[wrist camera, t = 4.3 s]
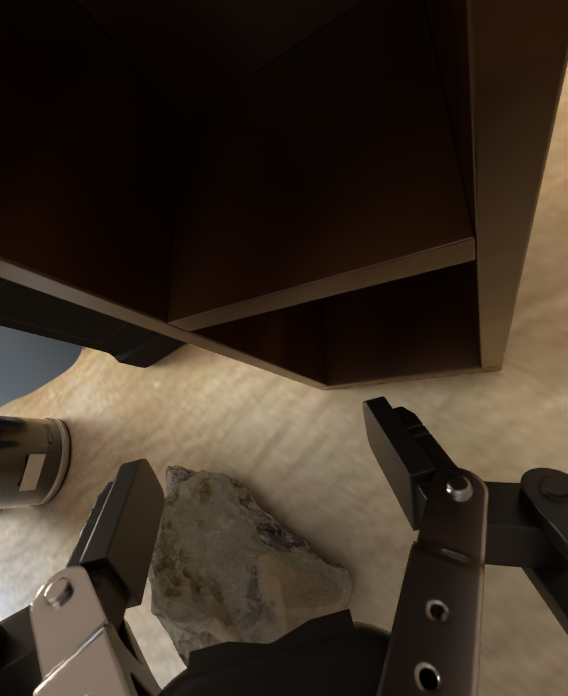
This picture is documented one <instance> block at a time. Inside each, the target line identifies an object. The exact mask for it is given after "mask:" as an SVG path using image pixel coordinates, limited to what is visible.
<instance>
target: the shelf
mask: <svg viewBox="0 0 568 696" xmlns="http://www.w3.org/2000/svg"><path fill="white" fill-rule="evenodd" d="M567 63H568V0H0V277H1V278H4V279H7V280H10V281H13V282H16V283H19V284H21V285H24V286H27V287H30V288H33V289H36V290H39V291H41V292H44V293H47V294H50V295H53V296H56V297H58V298H61V299H64V300H67V301H70V302H73V303H76V304H78V305H81V306H84V307H87V308H90V309H93V310H96V311H98V312H101V313H104V314H107V315H110V316H113V317H115V318H118V319H121V320H124V321H127V322H130V323H133V324H135V325H138V326H141V327H144V328H147V329H150V330H153V331H155V332H158V333H161V334H164V335H167V336H170V337H173V338H175V339H178V340H181V341H184V342H187V343H190V344H192V345H195V346H198V347H201V348H204V349H207V350H210V351H212V352H215V353H218V354H221V355H224V356H227V357H230V358H232V359H235V360H238V361H241V362H244V363H247V364H249V365H252V366H255V367H258V368H261V369H264V370H267V371H269V372H272V373H275V374H278V375H281V376H284V377H287V378H289V379H292V380H295V381H298V382H301V383H304V384H306V385H309V386H312V387H315V388H318V389H321V390H326V389H335V388H344V387H353V386H362V385H371V384H380V383H389V382H398V381H407V380H416V379H425V378H434V377H443V376H452V375H461V374H470V373H479V372H488V371H497V370H501V367H502V363H503V359H504V354H505V350H506V345H507V340H508V336H509V331H510V326H511V322H512V317H513V313H514V308H515V303H516V299H517V294H518V290H519V285H520V280H521V276H522V271H523V266H524V262H525V257H526V253H527V248H528V243H529V239H530V234H531V229H532V225H533V220H534V216H535V211H536V206H537V202H538V197H539V193H540V188H541V183H542V179H543V174H544V169H545V165H546V160H547V156H548V151H549V146H550V142H551V137H552V132H553V128H554V123H555V119H556V114H557V109H558V105H559V100H560V95H561V91H562V86H563V82H564V77H565V72H566V68H567Z"/></svg>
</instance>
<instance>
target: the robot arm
mask: <svg viewBox="0 0 568 696" xmlns="http://www.w3.org/2000/svg"><path fill="white" fill-rule="evenodd" d="M363 410H364V417H365V424H366V431H367V437H368V441H369V444H370V447H371V449H372V451H373V453H374V455H375V457H376V459H377V461H378V463H379V465H380V467H381V469H382V471H383V473H384V475H385V477H386V478H387V480H388V482H389V484H390V486H391V488H392V490H393V492H394V494H395V496H396V498H397V500H398V502H399V504H400V506H401V507H402V509H403V511H404V513H405V515H406V517H407V519H408V521H409V523H410V525H411V527H412V529H413V531H416V530H420V531H419V535H418V539H417V541H414V542H413V544H412V547H411V550H410V554H409V559H408V563H407V567H406V571H405V576H404V580H403V584H402V588H401V593H400V597H399V601H398V605H397V610H396V614H395V618H394V622H393V627H392V631H391V633H390V632H388V631H386V630H384V629H382V628H379V627H377V626H374V625H371V624H366V623H359V622H353V621H352V617H351V614H350V610H349V609H347V610H343V611H339V612H336V613H332V614H328V615H325V616H321V617H317V618H313V619H310V620H308V621H307V622H305V623H303V624H302V625H300V626H299V627H297V628H295V629H294V630H292V631H290V632H289V633H287V634H286V635H284V636H282V637H281V638H279V639H278V640H276V641H274V642H272V643H269V644H263V643H248V642H232V641H228V642H224V643H220V644H216V645H213V646H209V647H205V648H202V649H198V650H194V651H190V652H189V654H188V663H187V669H186V670H184V671H183V672H181V673H180V674H179V675H178V676H176V677H175V678H174V679H173V680H172V681H171V682H169V683H168V684H167V685H166V686H165V687H164V688H163V689H162V690H161V688H160V687H159V685H158V684H157V682H156V680H155V679H154V677H153V675H152V673H151V671H150V669H149V667H148V665H147V662H146V660H145V658H144V656H143V654H142V652H141V650H140V648H139V645H138V643H137V641H136V639H135V637H134V635H133V633H132V631H131V628H130V626H129V624H128V622H127V621H126V620H125V618H124V614H125V610H126V609H127V608H130V607H134V606H138V605H141V602H142V598H143V594H144V590H145V585H146V581H147V577H148V573H149V568H150V564H151V560H152V555H153V551H154V547H155V543H156V538H157V534H158V530H159V526H160V521H161V517H162V513H163V509H164V502H165V499H164V492H163V489H162V486H161V484H160V483H159V481H158V479H157V477H156V475H155V473H154V471H153V469H152V468H151V466H150V464H149V462H148V461H147V460H146V459H140V460H136V461H132V462H128V463H124V464H122V465H121V466H120V468H119V471H118V473H117V475H116V478H115V480H114V481H113V482H109V483H108V484H107V486H106V487H105V488H104V489H103V490H102V492H101V493H100V494H99V495H98V497H97V499H96V501H95V503H94V505H93V507H92V510H91V511H92V512H91V513H90V514H89V516H88V518H87V521H86V525H84V527H83V529H82V531H81V534H80V536H79V538H78V540H77V542H76V544H75V547H74V549H73V551H72V553H71V555H70V558H69V560H68V562H67V564H66V566H65V568H64V569H63V570H61V571H59V572H58V573H56V574H55V575H54V576H52V577H51V578H50V579H49V580H48V581H47V582H46V583H45V584H44V585H43V586H42V587H41V588H40V590H39V591H38V592H37V594H36V596H35V597H34V599H33V601H32V604H31V605H29V606H28V607H26V608H24V609H22V610H20V611H19V612H17V613H15V614H13V615H12V616H10V617H8V618H6V619H4V620H3V621H1V622H0V696H477V694H478V677H479V659H480V642H481V624H482V607H483V590H484V572H485V564H491V565H502V566H513V567H521V568H522V569H523V571H524V572H525V574H526V575H527V576H528V578H529V579H530V581H531V582H532V584H533V585H534V587H535V588H536V590H537V591H538V593H539V594H540V595H541V597H542V598H543V600H544V601H545V603H546V604H547V606H548V607H549V609H550V610H551V611H552V613H553V614H554V616H555V617H556V619H557V620H558V622H559V623H560V625H561V626H562V628H563V629H564V630H565V632H566V633H567V635H568V474H566V473H564V472H561V471H558V470H554V469H549V468H535V469H531V470H529V471H527V472H525V473H524V474H523V476H522V478H521V483H503V482H486V481H483V480H482V479H480V478H479V477H478V476H477V475H475V474H474V473H472V472H470V471H467V470H464V469H461V468H458V467H457V466H456V465H455V464H454V463H453V461H452V460H451V459H450V458H449V456H448V455H447V454H446V453H445V451H444V450H443V449H442V448H441V446H440V445H439V444H438V442H437V441H436V440H435V439H434V437H433V436H432V435H431V434H430V433H429V431H428V430H427V429H426V427H425V426H423V424H422V422H421V421H420V420H419V419H418V417H417V416H416V415H415V414H414V413H413V412H411V411H409V410H407V409H406V408H404V407H398V408H394V409H393V408H392V407H391V405H390V404H389V403H388V401H387V400H386V398H385V397H379V398H375V399H371V400H367V401H364V402H363ZM69 453H70V442H69V435H68V431H67V429H66V427H65V425H64V424H63V423H62V422H61V421H60V420H58V419H51V418H46V419H36V418H21V417H8V416H0V511H1V510H2V509H3V508H11V507H18V506H26V505H29V506H35V505H42V504H44V503H46V502H48V501H49V500H50V499H51V498H52V497H53V496H54V495H55V494H56V492H57V491H58V489H59V487H60V486H61V484H62V481H63V479H64V476H65V473H66V470H67V466H68V461H69Z"/></svg>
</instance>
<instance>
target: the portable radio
mask: <svg viewBox="0 0 568 696" xmlns="http://www.w3.org/2000/svg"><path fill="white" fill-rule="evenodd" d="M0 326H5V327H8V328H12V329H16V330H21V331H25V332H28V333H32V334H37V335H40V336H44V337H48V338H52V339H56V340H60V341H64V342H68V343H72V344H76V345H80V346H84V347H88V348H92V349H96V350H100V351H103V352H107V353H109V354H111V355H112V356H113V357H115V359H116V360H117V361H118V362H120V363H124V364H128V365H133V366H137V367H143V368H146V367H149V366H150V365H152V364H154V363H155V362H157V361H158V360H160V359H161V358H163V357H165V356H166V355H168V354H169V353H171V352H172V351H174V350H176V349H177V348H179V347H180V346H182V345H184V344H185V343H186V342H184V341H181V340H178V339H175V338H173V337H170V336H167V335H164V334H161V333H158V332H155V331H153V330H150V329H147V328H144V327H141V326H138V325H135V324H133V323H130V322H127V321H124V320H121V319H118V318H115V317H113V316H110V315H107V314H104V313H101V312H98V311H96V310H93V309H90V308H87V307H84V306H81V305H78V304H76V303H73V302H70V301H67V300H64V299H61V298H58V297H56V296H53V295H50V294H47V293H44V292H41V291H39V290H36V289H33V288H30V287H27V286H24V285H21V284H19V283H16V282H13V281H10V280H7V279H4V278H1V277H0Z"/></svg>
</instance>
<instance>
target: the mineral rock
mask: <svg viewBox="0 0 568 696" xmlns="http://www.w3.org/2000/svg"><path fill="white" fill-rule="evenodd" d="M166 483H167V498H166V499H165V502H164V509H163V513H162V517H161V521H160V526H159V530H158V534H157V538H156V543H155V547H154V551H153V555H152V560H151V564H150V568H149V573H148V577H149V579H150V583H151V590H152V597H151V611H152V614H153V615H155V616H157V618H158V619H159V621H160V623H161V624H162V626H163V627H164V628H165V629H166V631H167V632H168V634H169V636H170V638H171V640H172V641H173V644H174V646H175V648H176V650H177V652H178V654H179V656H180V657H181V659H182V661H183V662H184V664H185V665H186V667H187V663H188V654H189V652H190V651H194V650H198V649H202V648H205V647H209V646H213V645H216V644H220V643H224V642H228V641H232V642H248V643H263V644H269V643H272V642H274V641H276V640H278V639H279V638H281V637H282V636H284V635H286V634H287V633H289V632H290V631H292V630H294V629H295V628H297V627H299V626H300V625H302V624H303V623H305V622H307V621H308V620H310V619H313V618H317V617H321V616H325V615H328V614H332V613H336V612H339V611H343V610H344V608H345V607H346V606H347V604H348V602H349V600H350V597H351V593H352V588H353V586H352V583H351V577H350V574H349V573H348V571H347V570H346V569H345V568H344V567H343V566H342V565H340V564H335V565H333V564H330V565H328V564H326V563H325V562H324V561H323V560H322V559H319V558H317V556H316V555H315V554H314V552H313V551H312V550H311V548H310V547H309V546H308V543H307V542H306V541H305V540H304V539H303V538H301V537H299V536H297V535H295V534H291V533H288V532H287V531H285V530H284V529H283V528H282V526H281V524H279V523H278V522H277V520H276V519H275V518H274V517H273V516H271V515H270V514H268V513H265V512H264V511H263V510H262V509H261V508H260V507H259V506H258V505H257V503H256V502H255V500H254V498H253V496H252V495H251V493H250V492H249V490H248V489H247V488H246V487H245V486H244V485H243V484H241V483H239V482H238V480H236V479H233V478H231V477H230V476H228V475H225V474H222V473H210V472H206V471H203V470H201V471H200V472H195V471H193V470H188V469H186V468H184V467H182V466H167V469H166Z"/></svg>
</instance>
